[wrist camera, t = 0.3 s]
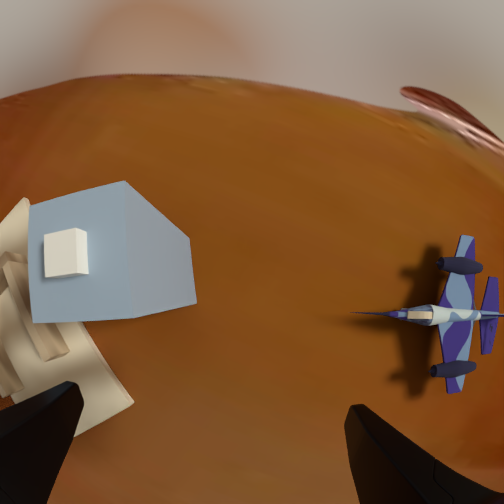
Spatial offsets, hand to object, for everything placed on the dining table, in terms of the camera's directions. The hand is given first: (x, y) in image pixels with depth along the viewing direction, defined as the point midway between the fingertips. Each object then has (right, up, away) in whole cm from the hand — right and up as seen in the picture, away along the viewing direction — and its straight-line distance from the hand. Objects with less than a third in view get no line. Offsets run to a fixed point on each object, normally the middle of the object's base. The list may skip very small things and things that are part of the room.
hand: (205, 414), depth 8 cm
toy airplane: (+17, -1, +14) cm, 22 cm away
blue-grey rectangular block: (-6, +3, +14) cm, 15 cm away
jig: (-20, -3, +13) cm, 25 cm away
